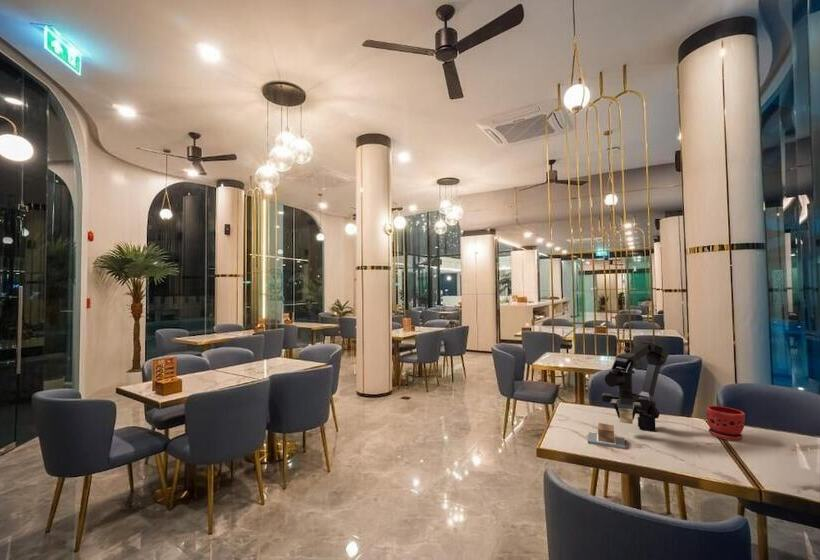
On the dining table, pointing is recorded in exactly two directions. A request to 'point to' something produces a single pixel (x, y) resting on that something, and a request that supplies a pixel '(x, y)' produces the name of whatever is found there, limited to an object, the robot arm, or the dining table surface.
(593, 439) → the base board
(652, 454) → the dining table surface
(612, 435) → the walnut block
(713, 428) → the plant pot
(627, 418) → the maple cube
